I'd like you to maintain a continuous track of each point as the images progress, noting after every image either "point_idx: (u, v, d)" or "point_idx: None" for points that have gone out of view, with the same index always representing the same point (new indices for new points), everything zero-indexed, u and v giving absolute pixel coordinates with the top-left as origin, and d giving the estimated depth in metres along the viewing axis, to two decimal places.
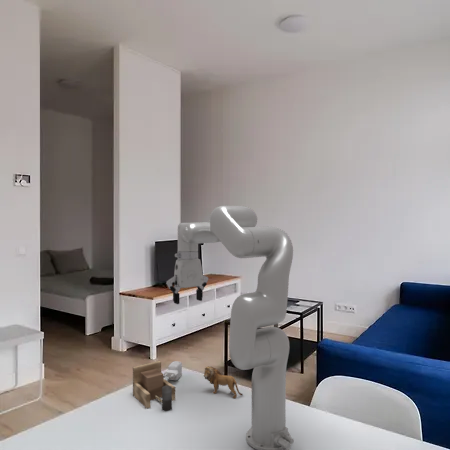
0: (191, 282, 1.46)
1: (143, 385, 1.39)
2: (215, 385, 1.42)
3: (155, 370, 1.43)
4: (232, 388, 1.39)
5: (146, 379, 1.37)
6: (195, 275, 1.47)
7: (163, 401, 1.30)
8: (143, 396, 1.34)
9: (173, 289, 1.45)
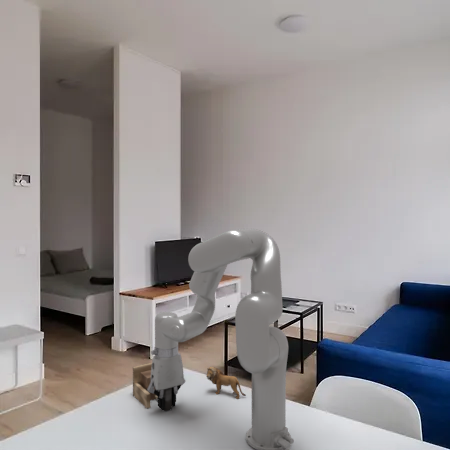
0: (170, 383, 1.29)
1: (143, 385, 1.39)
2: (218, 385, 1.42)
3: None
4: (235, 388, 1.39)
5: (146, 379, 1.37)
6: (175, 374, 1.30)
7: None
8: (143, 396, 1.34)
9: (157, 394, 1.28)
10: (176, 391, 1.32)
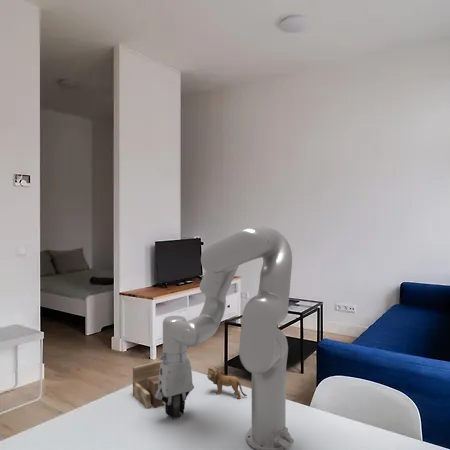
0: (178, 389, 1.24)
1: (150, 391, 1.35)
2: (219, 386, 1.42)
3: None
4: (236, 389, 1.39)
5: (153, 385, 1.33)
6: (183, 380, 1.25)
7: None
8: (143, 396, 1.34)
9: (165, 400, 1.24)
10: (185, 397, 1.27)
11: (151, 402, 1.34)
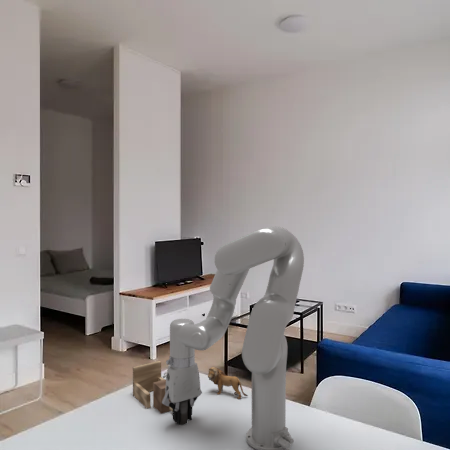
0: (186, 394, 1.20)
1: (156, 396, 1.31)
2: (219, 386, 1.42)
3: None
4: (237, 389, 1.39)
5: (159, 390, 1.29)
6: (191, 385, 1.21)
7: None
8: (143, 396, 1.34)
9: (173, 406, 1.20)
10: (192, 403, 1.23)
11: (157, 408, 1.30)
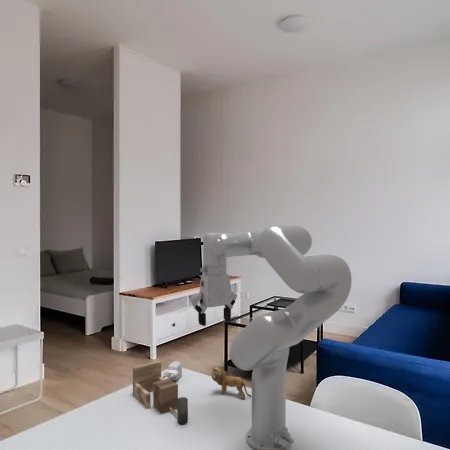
0: (219, 300, 1.28)
1: (156, 396, 1.31)
2: (223, 386, 1.41)
3: (169, 380, 1.35)
4: (240, 389, 1.38)
5: (159, 390, 1.29)
6: (223, 292, 1.29)
7: (179, 414, 1.21)
8: (143, 396, 1.34)
9: (199, 309, 1.26)
10: (231, 306, 1.33)
11: (157, 408, 1.30)
